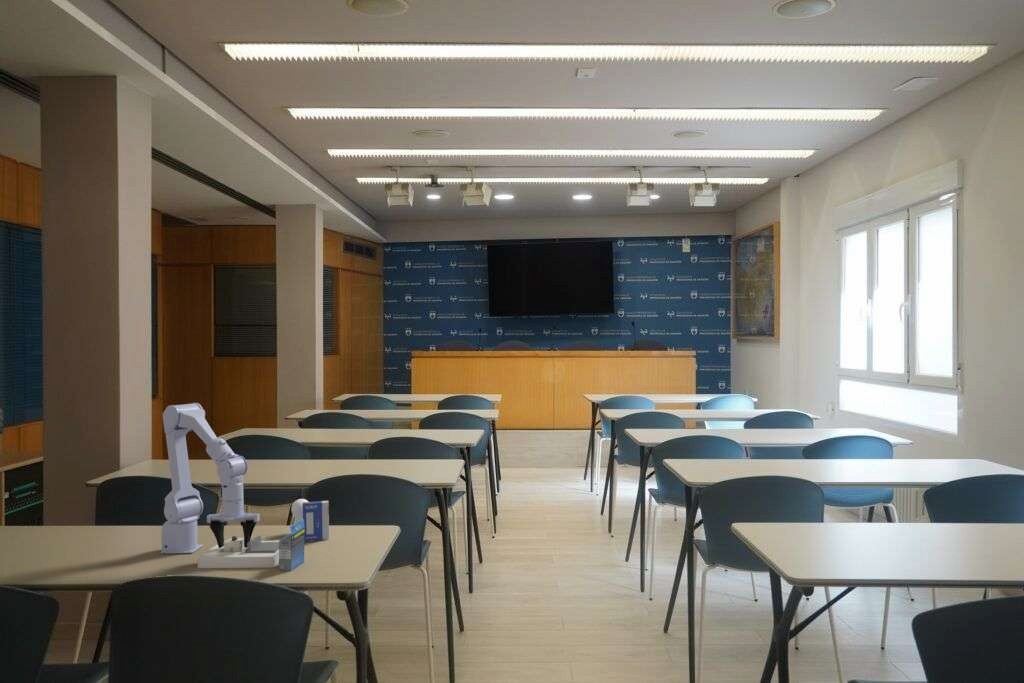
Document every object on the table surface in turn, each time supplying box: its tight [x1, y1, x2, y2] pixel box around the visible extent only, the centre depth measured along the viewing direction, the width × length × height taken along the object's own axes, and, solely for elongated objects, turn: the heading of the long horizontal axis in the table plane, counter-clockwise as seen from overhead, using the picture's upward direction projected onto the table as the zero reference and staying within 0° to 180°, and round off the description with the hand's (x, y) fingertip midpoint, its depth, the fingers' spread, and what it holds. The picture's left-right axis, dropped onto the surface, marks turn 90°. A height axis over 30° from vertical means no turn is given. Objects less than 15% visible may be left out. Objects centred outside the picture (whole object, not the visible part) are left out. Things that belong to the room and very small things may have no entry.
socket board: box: [197, 540, 279, 569], centre depth 213 cm, size 21×16×3 cm
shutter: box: [245, 535, 279, 553], centre depth 213 cm, size 8×8×3 cm
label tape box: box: [278, 519, 305, 572], centre depth 205 cm, size 9×4×12 cm, turn 172°
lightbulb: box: [290, 498, 309, 529], centre depth 241 cm, size 6×6×11 cm
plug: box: [224, 535, 246, 552], centre depth 213 cm, size 4×5×6 cm
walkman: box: [303, 500, 330, 542], centre depth 232 cm, size 8×3×12 cm, turn 103°
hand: (234, 546), depth 213 cm, fingers open, 7 cm apart
